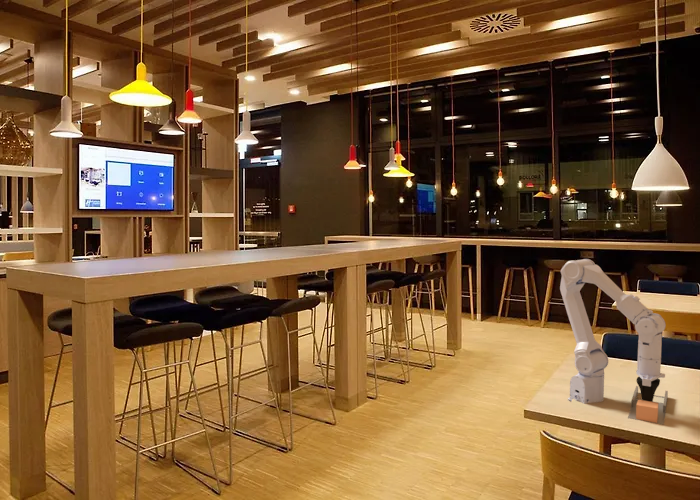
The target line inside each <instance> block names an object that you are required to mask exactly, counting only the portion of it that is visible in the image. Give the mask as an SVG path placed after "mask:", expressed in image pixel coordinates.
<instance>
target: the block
mask: <svg viewBox="0 0 700 500" xmlns="http://www.w3.org/2000/svg"><path fill="white" fill-rule="evenodd" d="M637 399H638V401H637V405H636V419H639V420H638V421H641V420H644V421H643V422H646V421H650V422H649V423H651V422H655V423H654V424H657V419H658V403H656V402H657V401H653V402H650V401H644V400H639V399H640V398H637Z"/></svg>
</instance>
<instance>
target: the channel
mask: <svg viewBox="0 0 700 500" xmlns="http://www.w3.org/2000/svg"><path fill="white" fill-rule="evenodd" d="M668 394H669V392H668V390H665V392H664V396H661V395H655V394H654V397H656V398H657V397H658V398H662V399H663V402H659V401H655V402H656V403H658V419H657V423H655V422H650V421H644V420H639V419H636V405H637V401H638V399H639V400H642V398H641V399H640V398H638V395H641V392H639V385H636V386H635V389H634V392H633V394H632V398H631V403H630V404H631V405H630V410H629V413H628V416H627V419H631V420H636V421H640V422H647V423H653V424H656V425H657V424H658V425H665V418H666V410H667V404H668V396H669V395H668Z"/></svg>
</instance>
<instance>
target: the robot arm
mask: <svg viewBox="0 0 700 500" xmlns="http://www.w3.org/2000/svg"><path fill="white" fill-rule="evenodd" d="M560 274H561V275H560V276H561V279H560V284H559V285H560V286H559V290H560V294H561V296H562V297H561V298H562V301H563V303H564V307H565V310H566V314H567V317H568V320H569V323H570V325H571V329H572V334H573V336H574V339H575V343H576V345H575V348H574V350H573V354H574V367H575V368H576V370H577V374H575V375H573V376H572V377H571V378H570V382H569V397H567V400H568V401H573V400H575V401H577V402H579V403H582V404H585V405H587V404H591V403H600V402H601V403H602V402H604V396H605V395H604V394H605V392H604V391H605V369H606V368H607V367H608V366H609V357H608V355H607V354H606V353H605V351H604V350H603V348H602V345H601V344H600V343H599V342H598V341H596V339H595V336H594V333H593V329H592V326H591V323H590V319H589V316H588V314H587V311H586V306H585V303H584V301H583V299H582V298H583V297H582V295H581V292H580V291H581V290H582V288H584V285H585V284H586V283H588V284H593V285H595V286H597V287H598V288H599V289H600V290H601V291H603V292H604V294H606V295H607V296H608V297H610V298H611V299H612V300H613V301H614V302H615V304H616V309H617V310H618V311H619V312H620V313H621V314H622V315H624V316H625V317H626V318H627V319H628V320H629V322H631V323H632V324H633V325H634V329H635V331H636V333H637V334H638V341H637V343H638V344H637V363H636V364H637V366H636V370H635V371H636V372H635V374H636V375H637V376H638V377H637V378H636V384H637V386H638V389H639V391H640V393H641V394H640V395H641V399H642V400H644V401H650V402H654V397H655V396H654V395H655V393H656V390H657V389H658V387H659V385H660V383H661V379H660V378H663V379H664V378H666V374H665V373H662V372H661V370H662V369H661V365H662V364H661V363H662V343H663V342H662V338H663V337H662V335H663V332H664V331H665V330H666V321H665V319H664V318H663V317H662V315H661V314H659V313H654V311H653V310H652V309H651V308H650V309H649V308H648V307H647V306H646V305H644V304H643V303H642V302H641V301H640V300H641V298H640V297H639V296H637V295H633V294H626V293H625V292H624V291H623V290H622V289H621V288H620V287H619V286H618V284H616V283H615V282H614V281H613V280H612V279H611V278H610V277H609V276H608V275H607V274H606V273H605V272H604V271H603V270H602V268H601V267H600V266H599V265H598V264H595V262H594V261H593V260H591V259H589V258H583V259H577V260H576V259H575V260H568V261H566V263H565V264H564V265H562V267H561V269H560Z"/></svg>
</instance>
